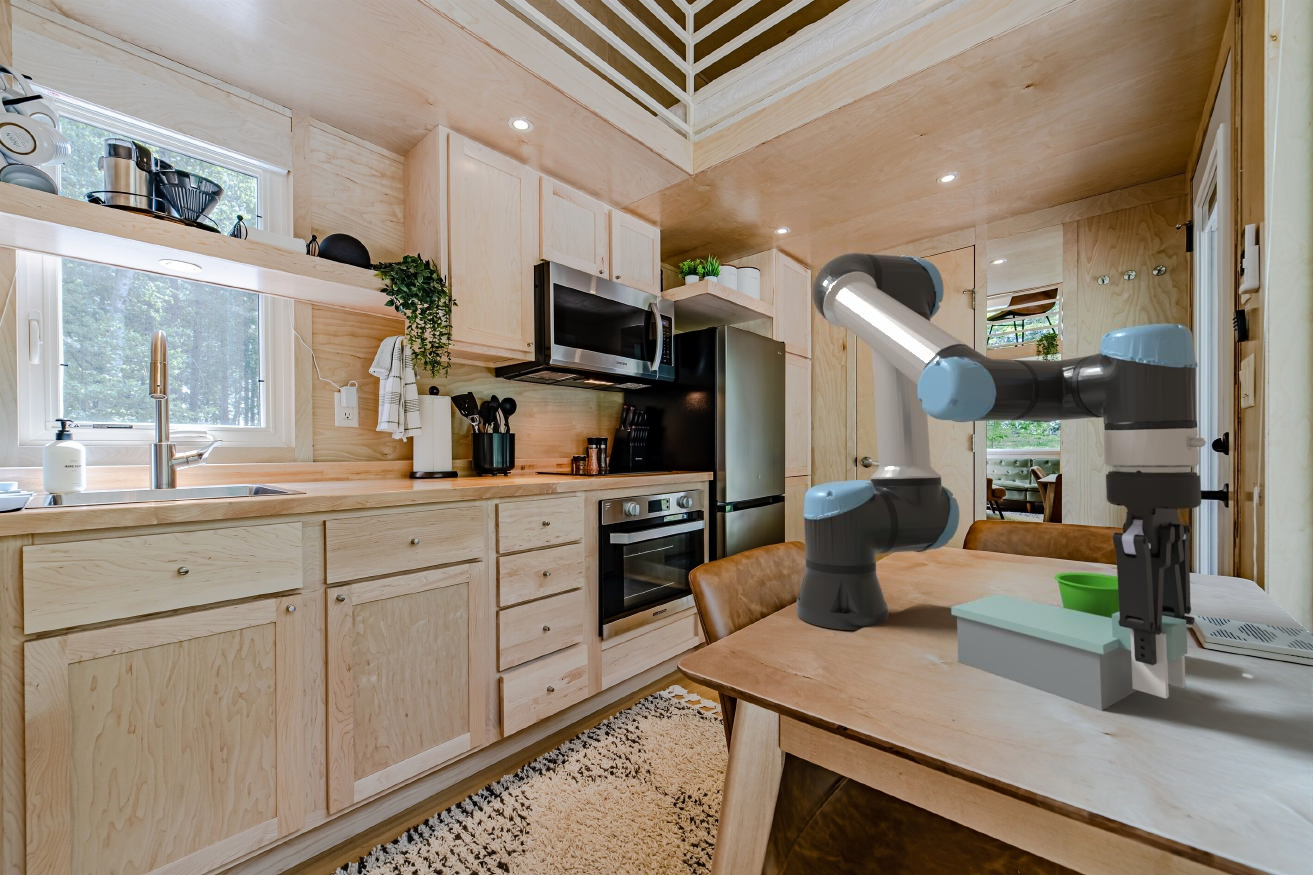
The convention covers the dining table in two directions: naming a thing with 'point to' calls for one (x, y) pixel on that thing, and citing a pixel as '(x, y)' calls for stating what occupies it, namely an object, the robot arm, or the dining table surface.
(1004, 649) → the tub
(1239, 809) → the dining table surface
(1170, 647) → the lid
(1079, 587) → the cup
